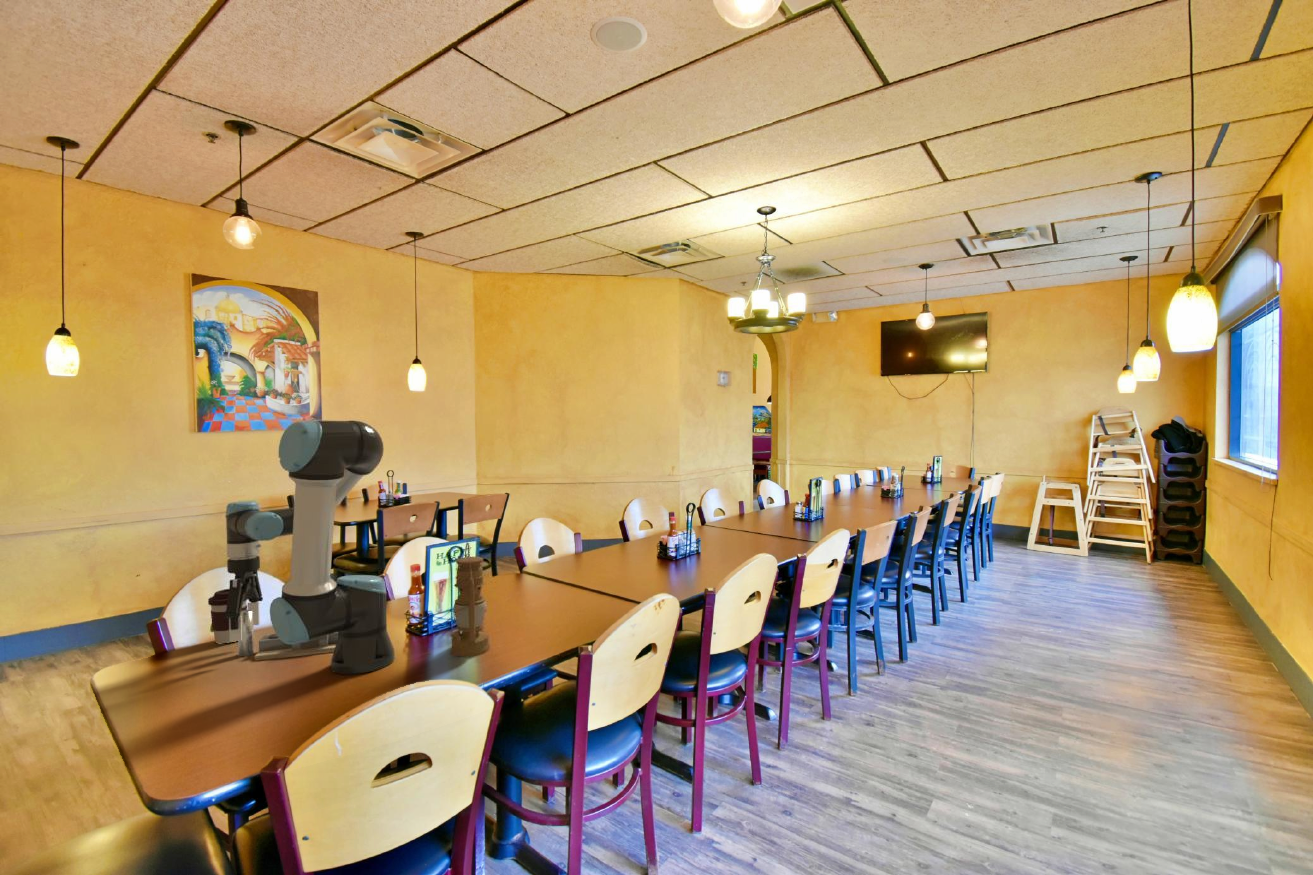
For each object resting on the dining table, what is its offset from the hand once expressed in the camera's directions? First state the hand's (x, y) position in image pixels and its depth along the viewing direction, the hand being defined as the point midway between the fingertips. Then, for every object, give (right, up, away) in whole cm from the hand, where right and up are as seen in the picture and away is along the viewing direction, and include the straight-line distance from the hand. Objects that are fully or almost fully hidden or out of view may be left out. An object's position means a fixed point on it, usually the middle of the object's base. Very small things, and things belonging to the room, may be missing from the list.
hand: (245, 632), depth 169 cm
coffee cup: (-13, -6, +12) cm, 18 cm away
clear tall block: (0, -6, 0) cm, 6 cm away
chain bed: (+17, -6, +4) cm, 18 cm away
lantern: (+63, -5, 0) cm, 63 cm away
